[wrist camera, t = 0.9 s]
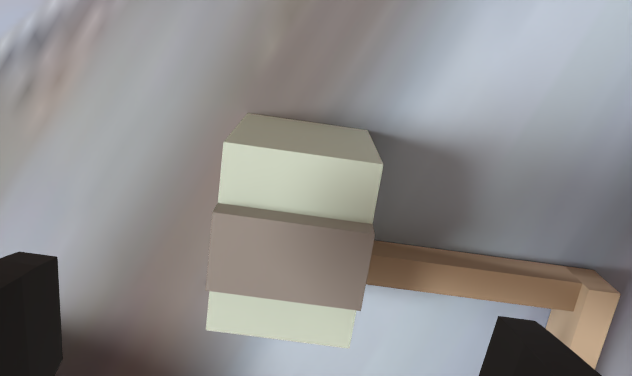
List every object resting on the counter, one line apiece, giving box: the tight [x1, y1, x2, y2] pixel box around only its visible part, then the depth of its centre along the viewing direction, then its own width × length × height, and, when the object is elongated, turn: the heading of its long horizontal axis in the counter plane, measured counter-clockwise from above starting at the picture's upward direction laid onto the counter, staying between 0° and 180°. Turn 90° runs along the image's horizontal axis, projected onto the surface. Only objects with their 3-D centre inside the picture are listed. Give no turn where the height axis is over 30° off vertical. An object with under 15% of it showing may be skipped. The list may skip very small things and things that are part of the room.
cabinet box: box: [205, 113, 383, 348], centre depth 18 cm, size 6×4×6 cm
